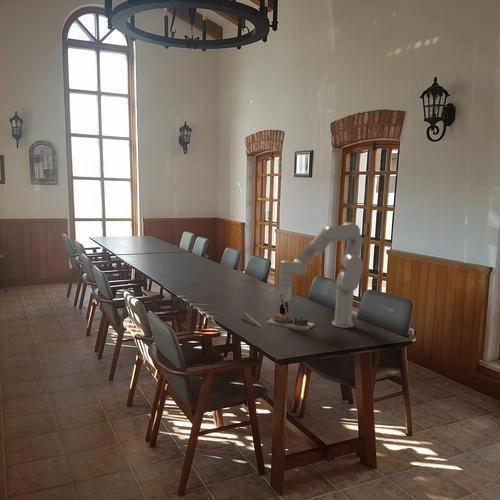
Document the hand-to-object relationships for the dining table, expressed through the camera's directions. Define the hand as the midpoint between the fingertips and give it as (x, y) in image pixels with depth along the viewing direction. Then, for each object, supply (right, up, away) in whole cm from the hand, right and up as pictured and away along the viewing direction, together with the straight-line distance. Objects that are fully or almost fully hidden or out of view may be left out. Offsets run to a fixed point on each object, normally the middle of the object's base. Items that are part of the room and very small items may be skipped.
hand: (283, 312), depth 284 cm
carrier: (+4, -6, -1) cm, 8 cm away
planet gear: (0, -4, +1) cm, 4 cm away
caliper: (-19, -6, -3) cm, 20 cm away
